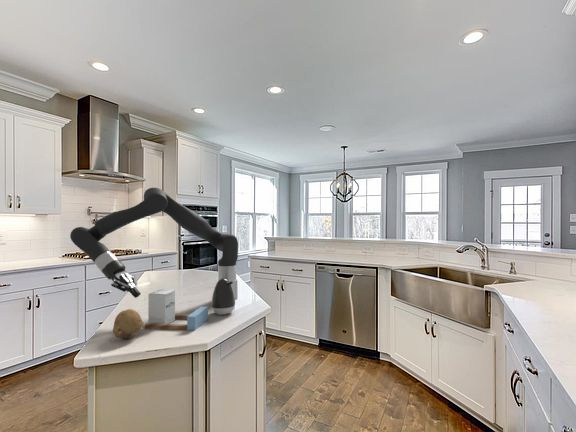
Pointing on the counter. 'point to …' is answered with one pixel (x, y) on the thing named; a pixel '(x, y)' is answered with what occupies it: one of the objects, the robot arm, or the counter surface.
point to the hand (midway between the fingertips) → (138, 296)
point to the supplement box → (161, 307)
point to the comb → (169, 326)
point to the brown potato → (127, 324)
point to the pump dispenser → (223, 297)
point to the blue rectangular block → (197, 318)
